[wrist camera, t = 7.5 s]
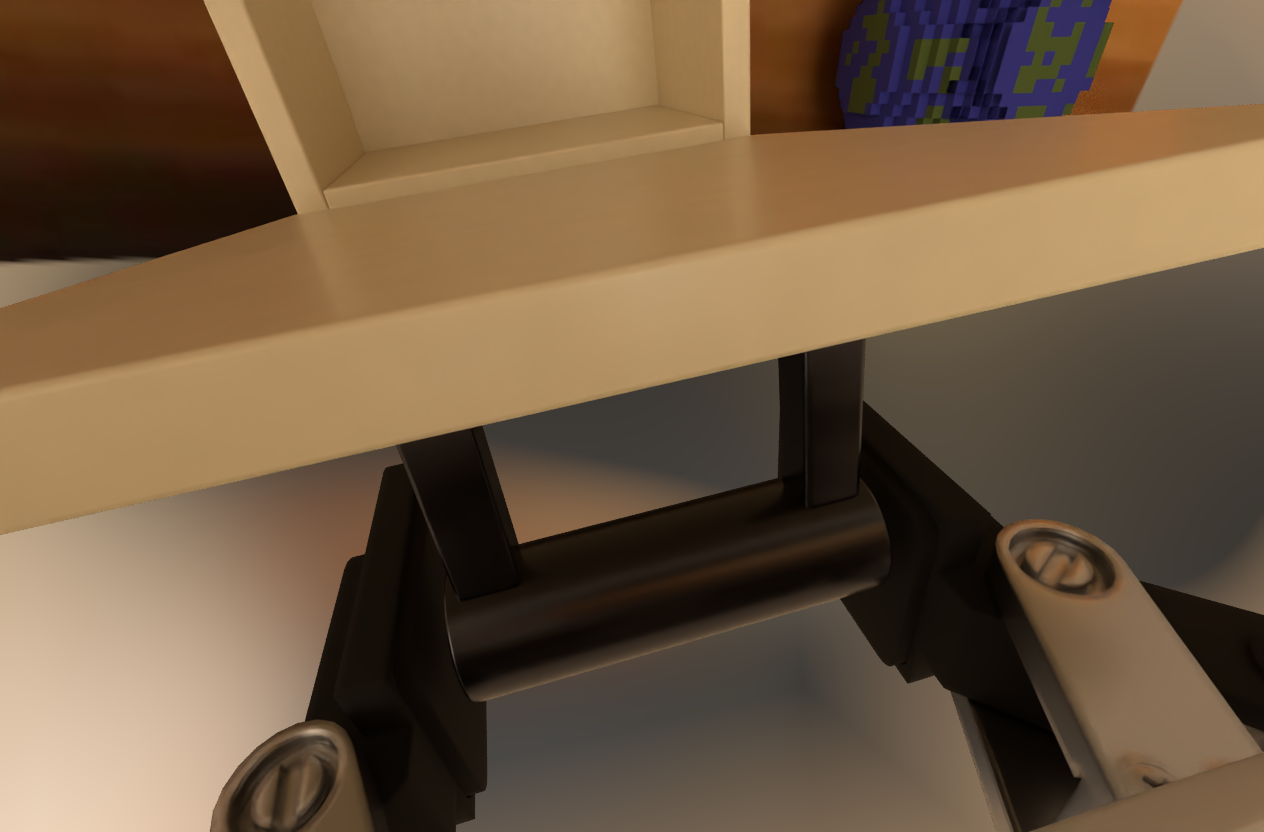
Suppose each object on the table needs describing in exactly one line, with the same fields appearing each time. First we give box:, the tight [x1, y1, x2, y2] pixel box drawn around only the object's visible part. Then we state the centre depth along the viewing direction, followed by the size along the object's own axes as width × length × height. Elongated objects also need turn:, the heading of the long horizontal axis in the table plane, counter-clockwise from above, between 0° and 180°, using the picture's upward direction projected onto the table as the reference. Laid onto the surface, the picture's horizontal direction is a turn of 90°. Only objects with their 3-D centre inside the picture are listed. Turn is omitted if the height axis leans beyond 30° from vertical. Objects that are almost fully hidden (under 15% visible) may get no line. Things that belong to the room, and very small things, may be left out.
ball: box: [835, 0, 1114, 129], centre depth 20 cm, size 8×8×8 cm
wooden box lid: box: [0, 104, 1264, 703], centre depth 10 cm, size 13×13×5 cm
